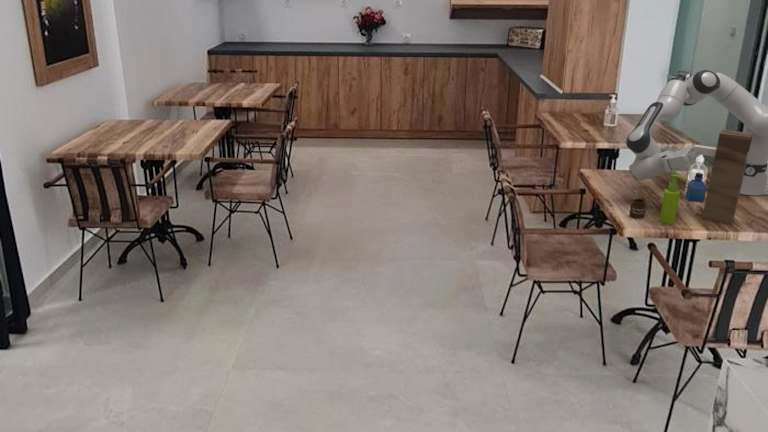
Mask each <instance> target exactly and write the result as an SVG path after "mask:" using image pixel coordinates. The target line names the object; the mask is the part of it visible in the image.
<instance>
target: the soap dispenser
mask: <svg viewBox="0 0 768 432" xmlns="http://www.w3.org/2000/svg"><path fill="white" fill-rule="evenodd" d="M670 177H672V179H671V181H668V182H669V183H668V188H667V189H664V190H663V196H662V202H661V208H660V211H659V212H660V213H659V219H658V222H660V223H661V222H662V224H664V223H665V225H673V224H675V222H676V221H675V220H676V218H677V211H678V206H679V201H680V197H681V196H680V195H681V192H680V191H679V190H678V188H679V183H678V182H677V180H678V179H682V180H685V179H686V178H687V177H686V176H684V175H681V174H674V173H672V174H671V175H670Z"/></svg>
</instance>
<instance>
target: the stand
mask: <svg viewBox="0 0 768 432" xmlns="http://www.w3.org/2000/svg"><path fill="white" fill-rule="evenodd" d="M718 135H719V136H718V140H717V144H716V148H717V149H716V154H715V157H713V163H712V169H711V174H710V177H709V183H708V189H707V191H706V193H707V194H706V196H705V197H706V198H705V202H704V207H703V212H702V217H701V219H702V220H705V221H710V222H715V223H720V224H725V225H731V226H732V224H733V222H734V220H735V217H736V213H737V208H738V203H739V199H740V195H741V194H740V190H741V186H742V181H743V177H744V172H745V168H746V164H747V160H746V158H747V159H748V157H747V154H749V149H750V145H751V140H752V136H753V133H745V131H743V132H742V131H736V130H728V129H722V130H721V131H720V132H719V134H718Z"/></svg>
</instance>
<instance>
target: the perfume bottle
mask: <svg viewBox="0 0 768 432" xmlns="http://www.w3.org/2000/svg"><path fill="white" fill-rule="evenodd" d="M705 185H706V184H705V183H704V173H703V172H702V173H701V172H696V173H695V175H694V177H693V179H691V180H690V181H689V182H688V183H687V187H686V188H687V189H686V192H685V198H686V199H687V201H688V202H693V203H705V202H704V201H705V199H706V198H705V197H706V193H707V188H706V186H705Z"/></svg>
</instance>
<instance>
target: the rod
mask: <svg viewBox="0 0 768 432" xmlns="http://www.w3.org/2000/svg"><path fill="white" fill-rule="evenodd" d="M693 146H694V150H693V152H695V151H698V150H700V151H701V155H700V156H705V157H706V156H707V157H713V158H715V154H716V149H717V147H713V146H706V145H704V146H702V145H699V144H695V145H693ZM747 157H748V154H747ZM746 160H747V158H746Z"/></svg>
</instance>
